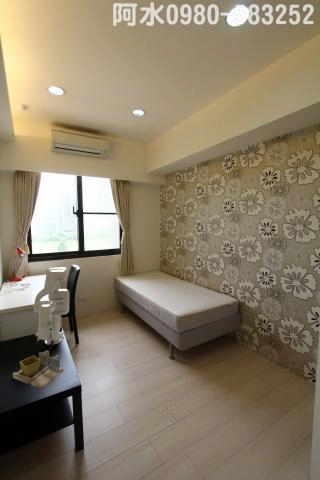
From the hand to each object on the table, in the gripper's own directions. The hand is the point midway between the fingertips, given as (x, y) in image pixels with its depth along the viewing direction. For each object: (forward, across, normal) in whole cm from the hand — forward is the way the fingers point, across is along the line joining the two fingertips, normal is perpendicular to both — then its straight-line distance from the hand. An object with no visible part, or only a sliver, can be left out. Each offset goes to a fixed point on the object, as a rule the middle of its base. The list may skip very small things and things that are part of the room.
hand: (45, 347), depth 149 cm
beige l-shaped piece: (+12, -12, +9) cm, 19 cm away
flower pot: (+12, +1, +11) cm, 17 cm away
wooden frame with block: (+12, +1, +8) cm, 14 cm away
